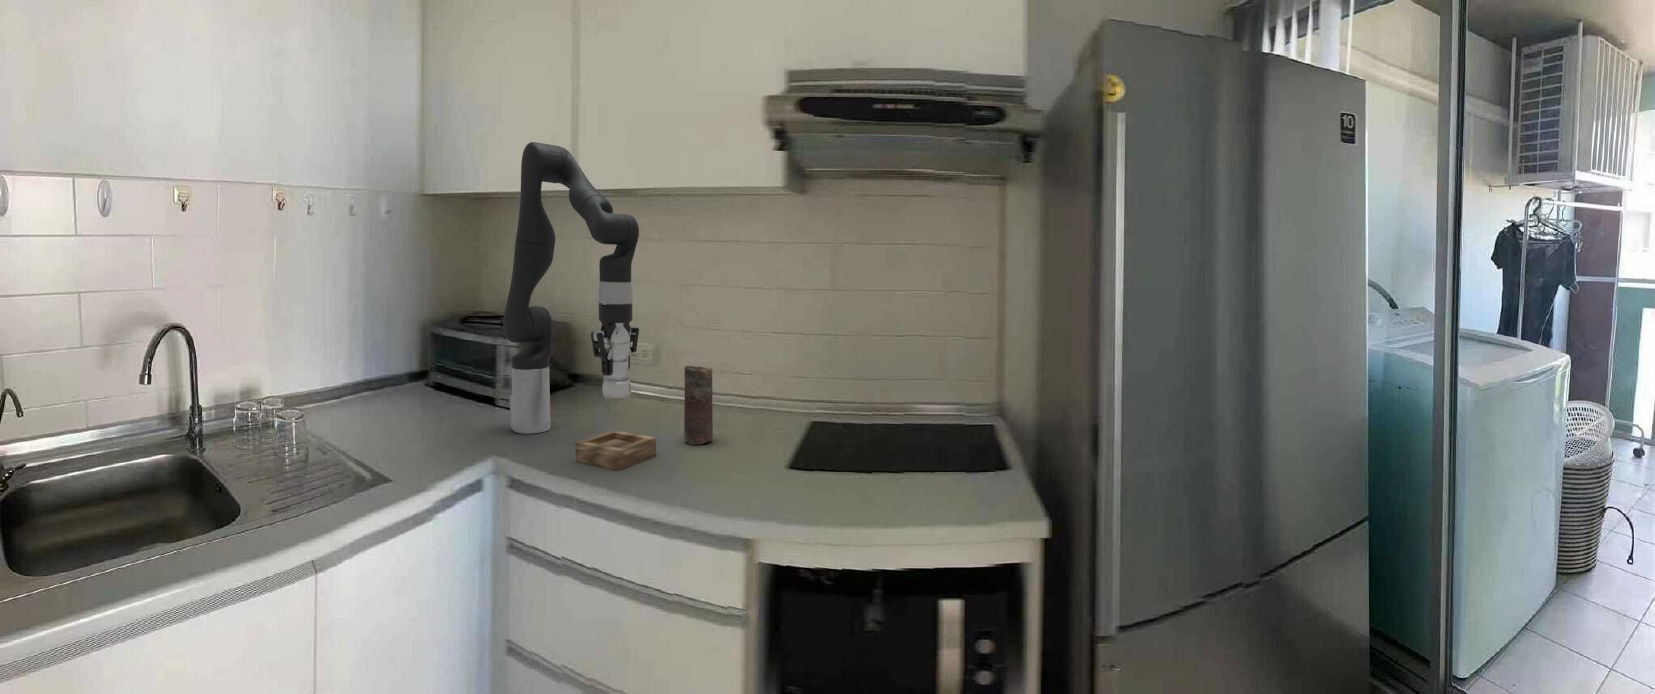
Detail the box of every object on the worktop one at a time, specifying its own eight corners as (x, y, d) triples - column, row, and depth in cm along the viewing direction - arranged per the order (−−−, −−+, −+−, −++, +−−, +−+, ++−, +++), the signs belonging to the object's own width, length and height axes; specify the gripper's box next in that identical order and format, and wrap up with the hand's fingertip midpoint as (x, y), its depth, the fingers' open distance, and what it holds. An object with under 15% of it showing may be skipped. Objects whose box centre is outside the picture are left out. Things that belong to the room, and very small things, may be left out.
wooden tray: (575, 461, 163) (575, 442, 163) (614, 447, 175) (613, 430, 174) (619, 470, 158) (619, 451, 157) (656, 455, 170) (656, 437, 169)
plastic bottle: (623, 404, 161) (622, 317, 158) (596, 401, 162) (595, 316, 159) (636, 398, 167) (635, 315, 164) (610, 395, 169) (609, 313, 165)
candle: (681, 438, 185) (681, 364, 182) (708, 436, 188) (709, 363, 185) (687, 446, 178) (688, 369, 175) (715, 444, 181) (716, 368, 178)
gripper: (623, 298, 169) (624, 367, 172) (580, 301, 156) (581, 376, 159) (648, 300, 166) (648, 370, 169) (606, 304, 153) (607, 380, 156)
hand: (615, 372), depth 164 cm, fingers closed on plastic bottle, 5 cm apart
